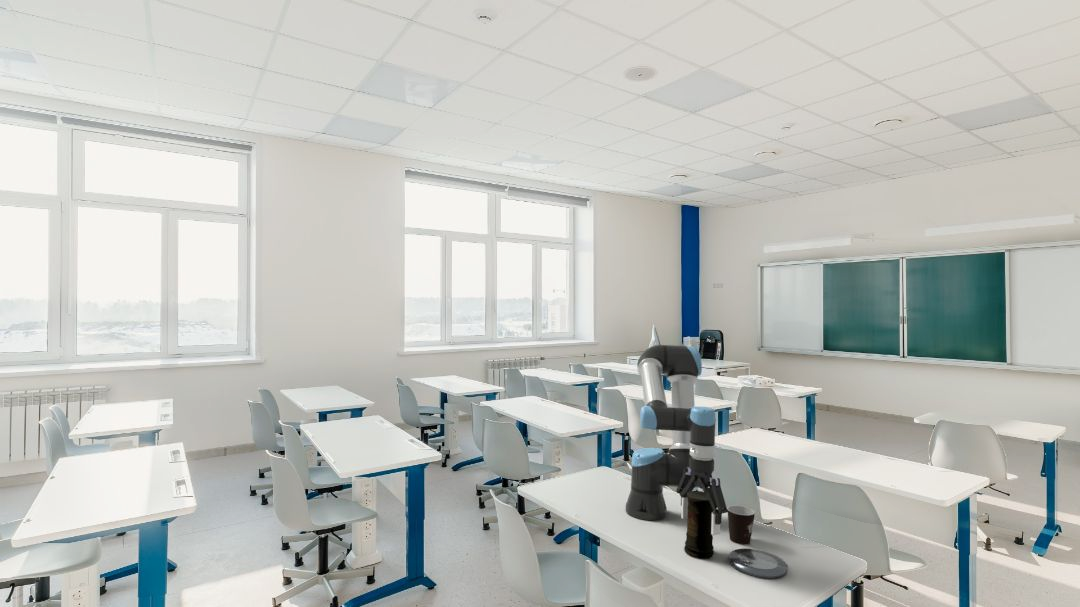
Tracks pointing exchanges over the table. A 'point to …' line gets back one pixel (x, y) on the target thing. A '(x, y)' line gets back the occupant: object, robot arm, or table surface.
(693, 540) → the container
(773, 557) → the dark gray plate
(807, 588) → the table surface
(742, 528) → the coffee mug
